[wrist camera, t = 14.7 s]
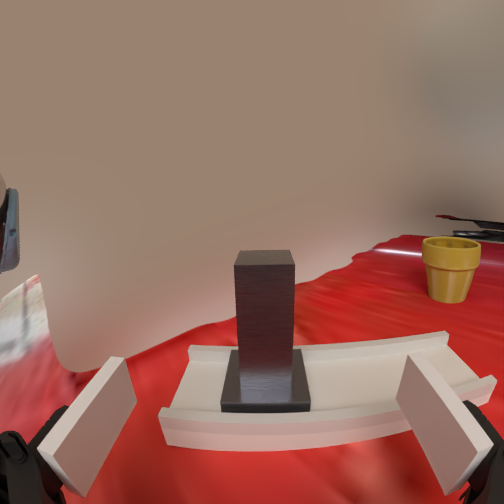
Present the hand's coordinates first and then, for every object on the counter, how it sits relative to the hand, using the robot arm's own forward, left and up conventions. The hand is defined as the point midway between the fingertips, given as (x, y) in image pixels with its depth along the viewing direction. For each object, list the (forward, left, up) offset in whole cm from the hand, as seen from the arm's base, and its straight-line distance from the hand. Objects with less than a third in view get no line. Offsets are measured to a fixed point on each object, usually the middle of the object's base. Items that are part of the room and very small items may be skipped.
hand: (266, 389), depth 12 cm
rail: (+6, +8, -9) cm, 13 cm away
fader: (0, +8, -6) cm, 10 cm away
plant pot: (+30, +28, -9) cm, 42 cm away
